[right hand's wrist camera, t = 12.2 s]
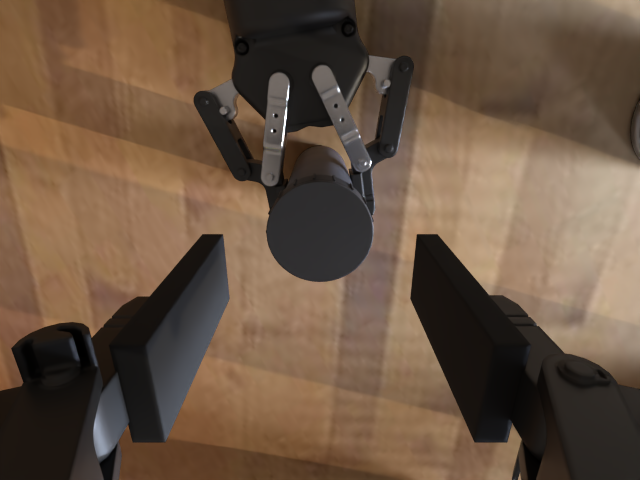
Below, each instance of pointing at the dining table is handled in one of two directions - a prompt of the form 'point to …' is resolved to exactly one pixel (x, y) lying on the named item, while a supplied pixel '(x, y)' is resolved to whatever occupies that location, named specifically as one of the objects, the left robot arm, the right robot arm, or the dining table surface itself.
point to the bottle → (319, 164)
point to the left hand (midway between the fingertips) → (325, 226)
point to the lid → (319, 228)
